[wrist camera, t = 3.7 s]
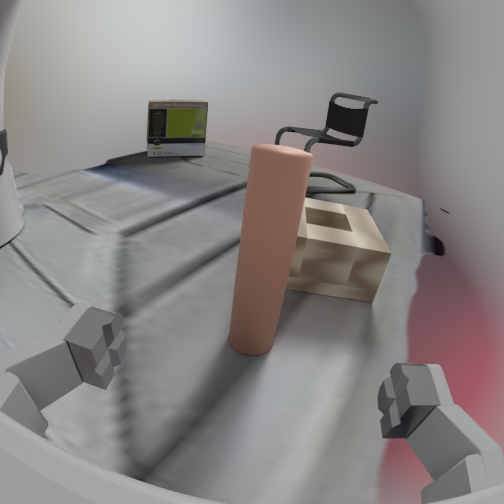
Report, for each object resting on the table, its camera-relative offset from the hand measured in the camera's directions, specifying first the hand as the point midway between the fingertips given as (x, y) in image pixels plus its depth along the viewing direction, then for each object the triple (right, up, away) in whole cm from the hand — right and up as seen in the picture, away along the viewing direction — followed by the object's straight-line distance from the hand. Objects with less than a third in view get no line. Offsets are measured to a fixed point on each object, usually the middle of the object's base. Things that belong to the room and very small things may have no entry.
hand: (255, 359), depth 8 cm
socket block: (+7, +1, +28) cm, 29 cm away
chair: (+14, +18, +61) cm, 65 cm away
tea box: (-21, +29, +71) cm, 80 cm away
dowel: (0, -4, +16) cm, 17 cm away
